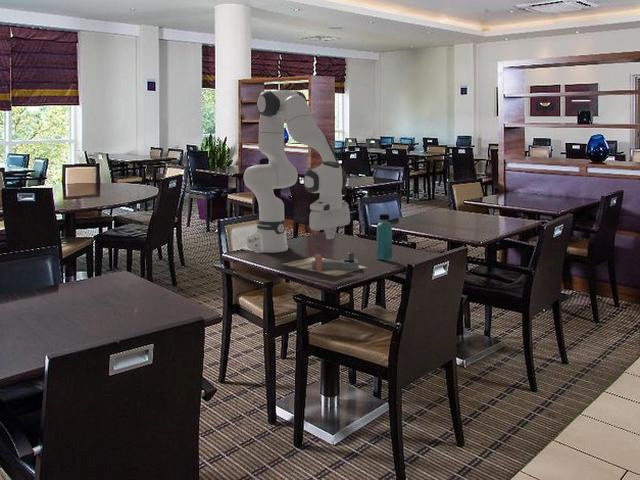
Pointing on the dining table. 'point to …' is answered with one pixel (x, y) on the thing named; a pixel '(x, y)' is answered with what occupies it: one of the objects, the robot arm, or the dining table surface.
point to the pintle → (351, 257)
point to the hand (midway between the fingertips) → (330, 238)
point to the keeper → (318, 262)
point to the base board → (308, 266)
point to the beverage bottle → (384, 238)
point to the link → (338, 265)
